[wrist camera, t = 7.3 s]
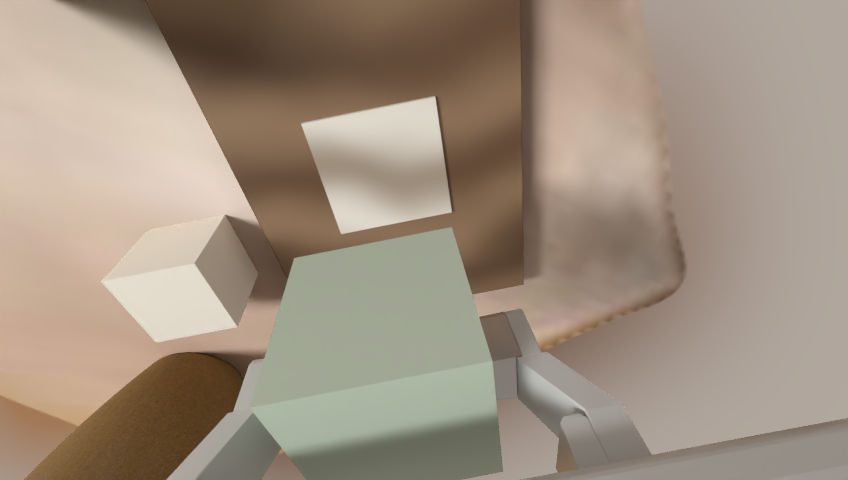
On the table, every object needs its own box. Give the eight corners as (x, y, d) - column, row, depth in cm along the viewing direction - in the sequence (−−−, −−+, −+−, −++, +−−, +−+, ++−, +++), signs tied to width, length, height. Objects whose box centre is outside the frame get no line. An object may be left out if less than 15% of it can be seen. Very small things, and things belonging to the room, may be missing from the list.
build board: (144, -38, 16) (123, -39, 15) (507, -113, 16) (519, -121, 15) (314, 311, 29) (311, 328, 28) (517, 271, 29) (524, 286, 27)
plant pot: (321, 390, 35) (288, 636, 22) (195, 440, 37) (98, 687, 24) (199, 289, 27) (31, 586, 14) (48, 362, 29) (-216, 672, 16)
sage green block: (294, 257, 12) (249, 407, 8) (451, 227, 12) (492, 360, 8) (340, 357, 15) (326, 504, 10) (467, 332, 14) (503, 471, 10)
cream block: (148, 229, 24) (101, 281, 20) (225, 214, 24) (194, 263, 20) (189, 286, 27) (156, 342, 22) (258, 273, 27) (237, 326, 22)
